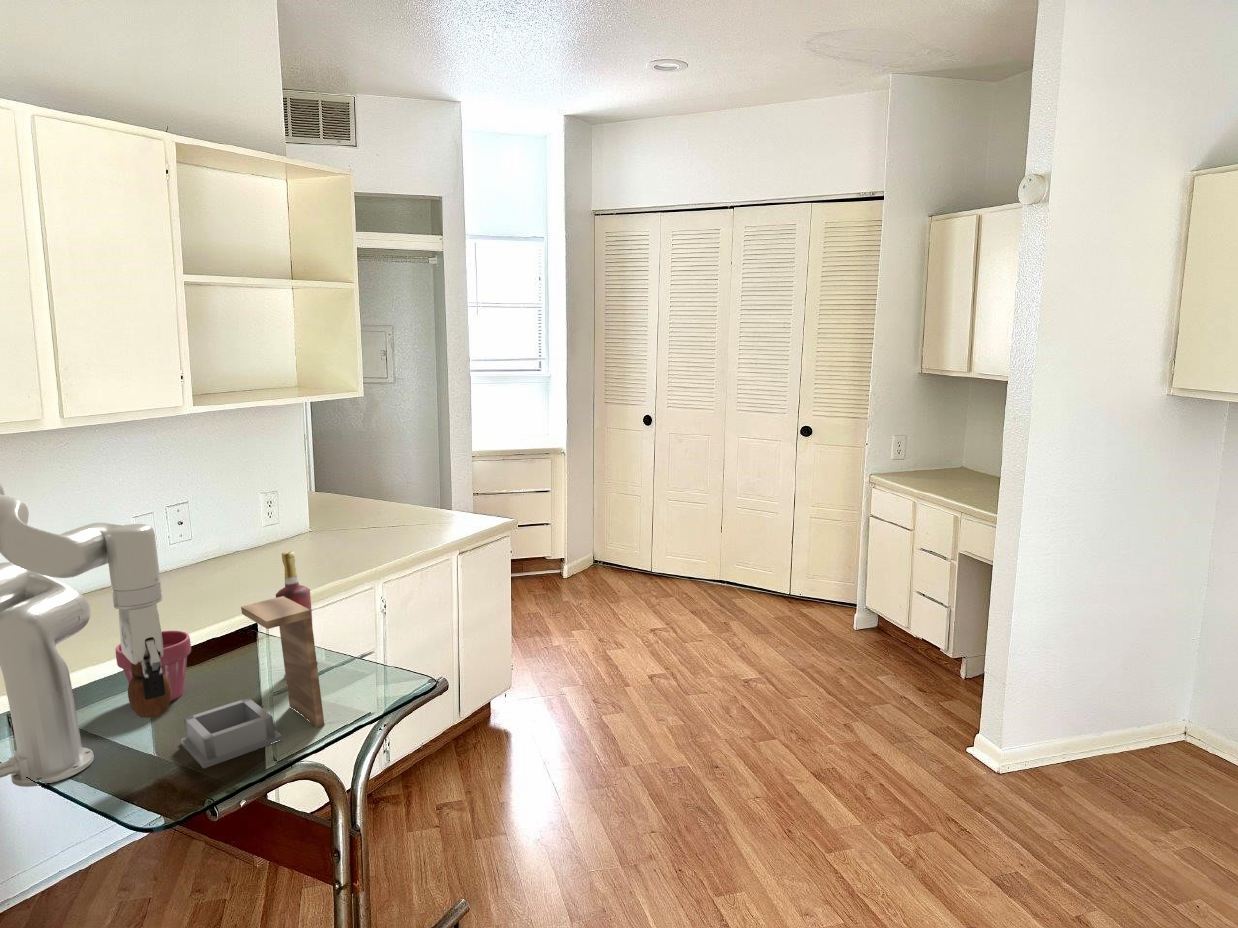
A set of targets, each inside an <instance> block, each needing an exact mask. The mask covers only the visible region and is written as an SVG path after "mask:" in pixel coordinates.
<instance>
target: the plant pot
mask: <svg viewBox="0 0 1238 928" xmlns="http://www.w3.org/2000/svg"><path fill="white" fill-rule="evenodd" d="M161 633H162V641H163V656H162V657H161V658H160V659H161V664H162V666H161V668H162V673H163V675H165V676H166V677H167V678H168V680H169V682H170V685H171V698H170V702H172V701H175V700H176V699H178V698H180V697H182V695H183V694H184V691H185V682H186V674H187V673H186V672H187V664H188V663H187V662H188V656H189V655H190V654H191V652H192V644H191V638H190V635H189V633H187V632H186V631H181V630H163V631H162V630H161ZM115 659H116V665H117V667H118V668H120V669H123V673H124V675H125V677H126V679H127V682H128V683H129V682H130V680H131V679H132V670H131V662H130V661H129V660H128V659H127V658H126V656H125V655H124V654H123V653H122V649H121V642H120V643H119V644H118V645H116V647H115Z"/></svg>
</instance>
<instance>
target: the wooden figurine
mask: <svg viewBox="0 0 1238 928" xmlns="http://www.w3.org/2000/svg"><path fill="white" fill-rule="evenodd" d="M143 658H144V660H145V659H149V656H146V657H143ZM160 663H161V659H160ZM148 665H150V663H147V664H146V667H148ZM161 666H162V664H161ZM131 670H132V673H133V674H134V675H135V676H133V677H132V679H131V680H130V682H128V687H127V697H128V702H129V705H130V708H131V709H132V710H133V712H134V713H135V715H137V716H138V717H139V718H143V719H144V718H147V719H149V718H156V717H160V716H161V715H163V714H164V713H165V712H167V711H168V709H169V706H170V702H171V701H170V698H171V685H170V682H169V680H168V678H167V677H166V676H165V675H163V679H164V687H165V694H164V695H163V696H159V697H156V698H152V699H148V700H146V699H145V698H144V691H143V683H142V678H143V677H144V675H143V670H142V666H141V662H138V664H136V665H135V664H133V663H131Z"/></svg>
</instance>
